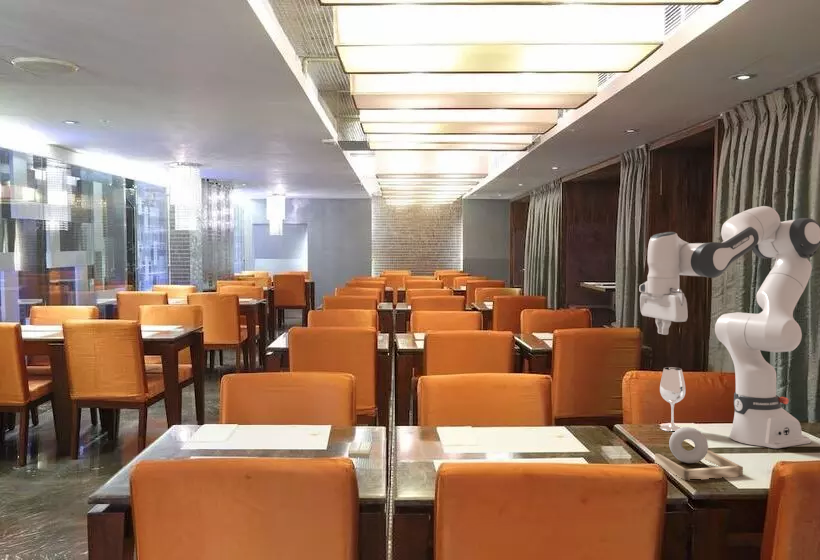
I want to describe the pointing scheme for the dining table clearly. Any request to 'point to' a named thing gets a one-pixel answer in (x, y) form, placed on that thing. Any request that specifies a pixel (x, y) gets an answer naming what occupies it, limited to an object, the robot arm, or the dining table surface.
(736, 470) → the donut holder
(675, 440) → the donut
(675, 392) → the wineglass
